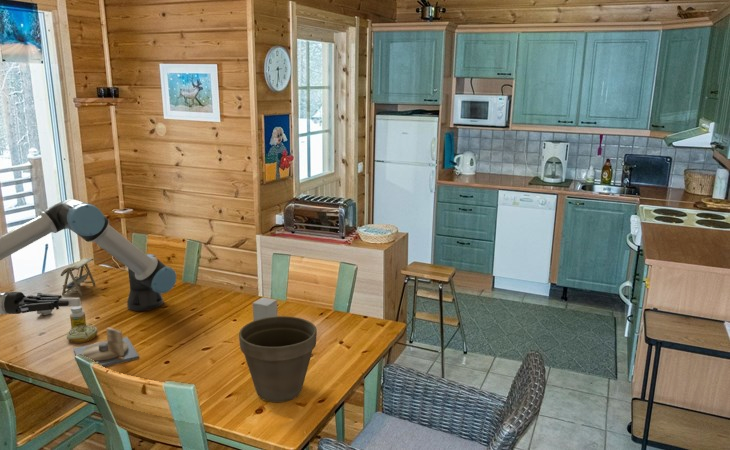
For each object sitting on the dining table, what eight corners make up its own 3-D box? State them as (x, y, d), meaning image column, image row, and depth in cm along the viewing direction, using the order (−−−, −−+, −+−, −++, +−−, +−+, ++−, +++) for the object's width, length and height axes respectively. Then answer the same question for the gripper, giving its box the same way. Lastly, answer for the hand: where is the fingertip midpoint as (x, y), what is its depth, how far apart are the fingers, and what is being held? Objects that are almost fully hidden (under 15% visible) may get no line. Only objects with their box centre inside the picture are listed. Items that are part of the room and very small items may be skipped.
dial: (74, 354, 206) (71, 329, 204) (110, 339, 219) (107, 315, 216) (104, 366, 198) (101, 340, 195) (140, 349, 210) (137, 324, 208)
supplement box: (278, 328, 234) (277, 299, 231) (268, 335, 228) (267, 305, 225) (263, 324, 237) (262, 296, 234) (253, 331, 231) (252, 302, 228)
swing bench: (78, 285, 279) (74, 256, 276) (97, 285, 279) (94, 257, 275) (61, 295, 265) (57, 265, 261) (81, 296, 265) (78, 266, 261)
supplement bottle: (85, 325, 233) (83, 304, 231) (87, 330, 229) (85, 308, 226) (70, 328, 230) (68, 306, 228) (72, 333, 226) (70, 311, 224)
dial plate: (127, 339, 222) (127, 336, 221) (139, 358, 207) (138, 355, 206) (73, 350, 211) (73, 347, 211) (81, 372, 196) (81, 368, 196)
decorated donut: (62, 344, 217) (61, 335, 216) (74, 332, 227) (73, 323, 226) (90, 344, 217) (89, 335, 217) (101, 332, 228) (100, 323, 227)
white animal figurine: (55, 313, 244) (53, 296, 243) (40, 318, 239) (38, 301, 237) (49, 310, 247) (47, 293, 245) (33, 315, 242) (31, 298, 240)
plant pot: (262, 367, 202) (261, 310, 197) (327, 378, 195) (327, 320, 190) (226, 403, 179) (223, 340, 173) (298, 417, 172) (298, 352, 167)
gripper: (20, 305, 202) (88, 304, 204) (0, 320, 190) (72, 319, 191) (17, 286, 200) (85, 285, 202) (-4, 299, 188) (70, 298, 189)
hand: (79, 302), depth 197 cm, fingers closed
